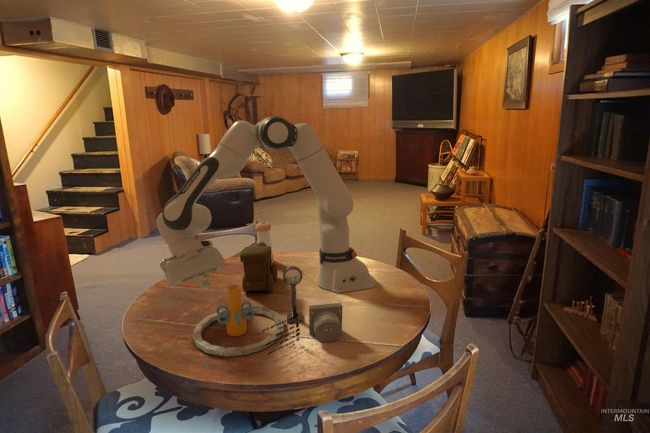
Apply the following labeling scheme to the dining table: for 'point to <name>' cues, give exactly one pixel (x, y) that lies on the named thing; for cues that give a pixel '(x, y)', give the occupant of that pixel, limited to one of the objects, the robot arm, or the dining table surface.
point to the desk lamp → (293, 290)
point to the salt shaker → (264, 234)
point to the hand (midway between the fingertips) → (206, 286)
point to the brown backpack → (258, 268)
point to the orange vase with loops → (235, 312)
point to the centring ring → (237, 350)
